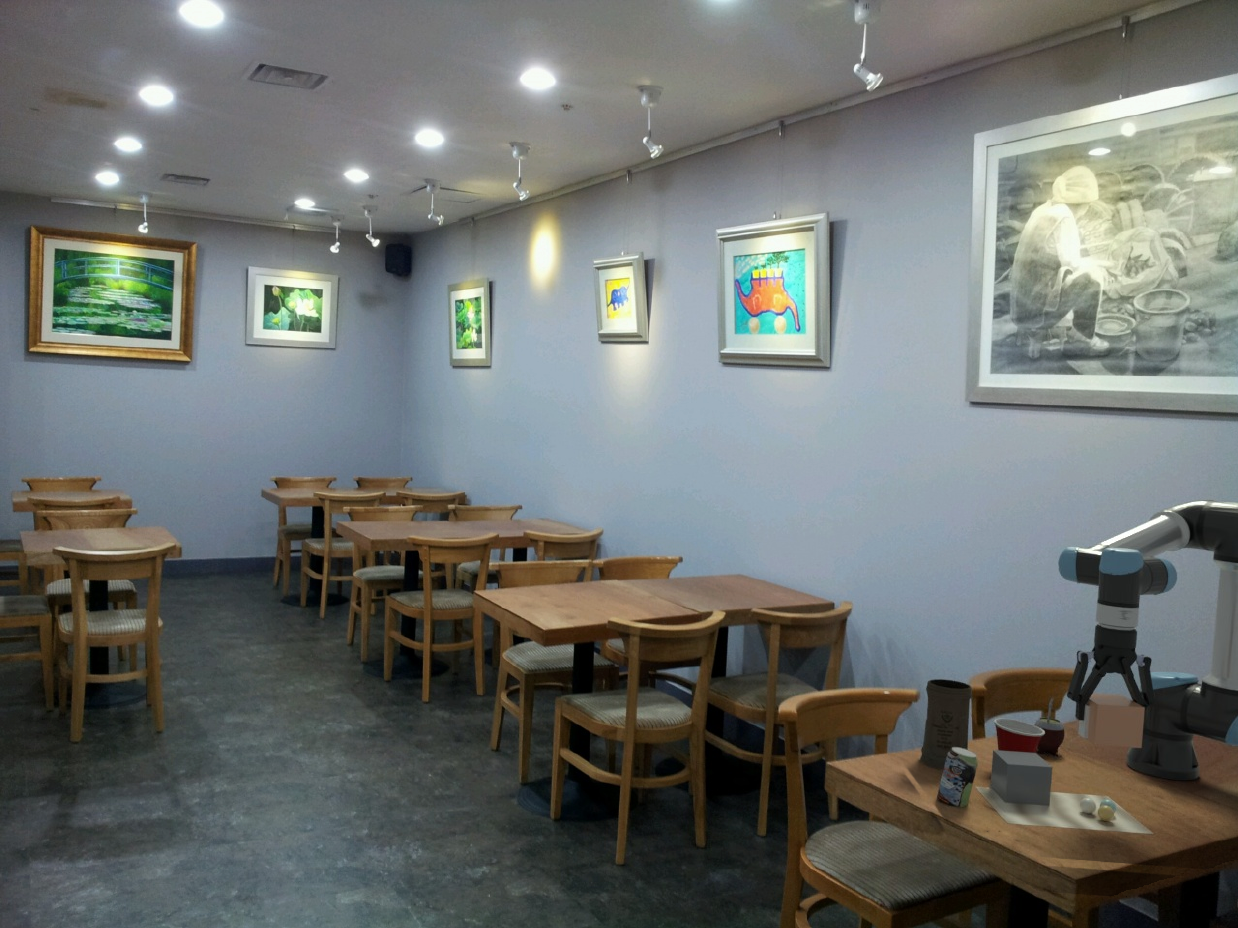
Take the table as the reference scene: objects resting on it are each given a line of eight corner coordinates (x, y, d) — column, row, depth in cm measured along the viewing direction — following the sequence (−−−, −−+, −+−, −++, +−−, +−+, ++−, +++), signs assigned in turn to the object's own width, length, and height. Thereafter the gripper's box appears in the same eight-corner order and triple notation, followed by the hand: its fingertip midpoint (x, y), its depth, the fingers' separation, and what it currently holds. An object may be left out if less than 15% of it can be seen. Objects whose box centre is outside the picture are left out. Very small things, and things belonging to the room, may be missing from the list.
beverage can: (932, 800, 207) (937, 743, 206) (968, 802, 207) (972, 745, 206) (941, 811, 201) (945, 753, 200) (978, 814, 200) (982, 755, 200)
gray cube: (1032, 789, 213) (1035, 752, 213) (1049, 805, 204) (1052, 767, 204) (990, 786, 214) (993, 749, 213) (1005, 802, 205) (1008, 763, 204)
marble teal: (1111, 812, 203) (1112, 797, 203) (1118, 817, 200) (1119, 803, 200) (1096, 810, 203) (1097, 796, 203) (1103, 816, 200) (1104, 801, 200)
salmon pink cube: (1120, 733, 203) (1123, 695, 203) (1141, 747, 194) (1144, 707, 194) (1075, 730, 204) (1078, 692, 203) (1094, 744, 195) (1097, 704, 194)
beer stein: (972, 779, 221) (978, 689, 222) (922, 773, 223) (928, 684, 224) (961, 762, 236) (966, 677, 237) (914, 756, 238) (919, 672, 239)
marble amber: (1109, 818, 199) (1110, 803, 199) (1116, 824, 196) (1117, 809, 196) (1094, 817, 199) (1095, 802, 199) (1101, 823, 196) (1102, 808, 196)
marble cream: (1091, 810, 203) (1092, 796, 203) (1098, 816, 200) (1099, 801, 200) (1076, 809, 203) (1077, 795, 203) (1082, 815, 200) (1084, 800, 200)
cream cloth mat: (1106, 801, 212) (1107, 795, 212) (1153, 839, 192) (1154, 833, 192) (974, 791, 213) (974, 786, 213) (1007, 829, 193) (1007, 823, 193)
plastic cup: (1046, 788, 219) (1050, 734, 218) (994, 781, 221) (998, 728, 220) (1035, 772, 229) (1039, 720, 229) (986, 766, 231) (990, 715, 231)
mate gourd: (1047, 746, 249) (1052, 687, 249) (1072, 757, 242) (1076, 696, 242) (1024, 748, 247) (1028, 688, 246) (1048, 759, 239) (1052, 697, 239)
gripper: (1068, 626, 195) (1060, 739, 196) (1181, 633, 194) (1172, 747, 195) (1053, 619, 202) (1045, 728, 203) (1162, 625, 202) (1153, 735, 202)
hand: (1107, 737), depth 199 cm, fingers closed on salmon pink cube, 9 cm apart
